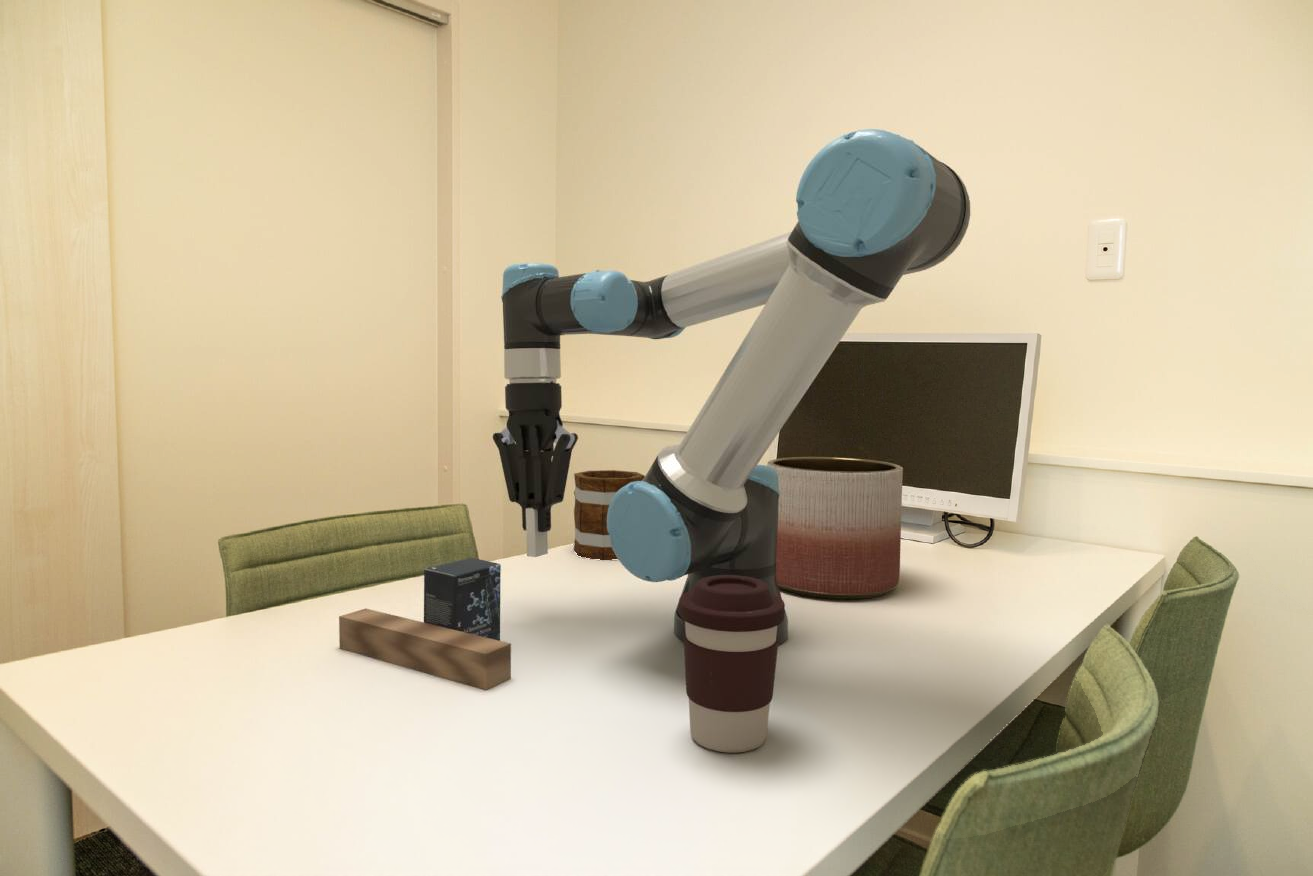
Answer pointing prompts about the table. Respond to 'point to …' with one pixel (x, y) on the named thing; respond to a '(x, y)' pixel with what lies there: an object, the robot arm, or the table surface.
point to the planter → (838, 526)
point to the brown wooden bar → (426, 648)
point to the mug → (596, 510)
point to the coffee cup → (730, 660)
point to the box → (464, 597)
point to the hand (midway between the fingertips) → (537, 554)
